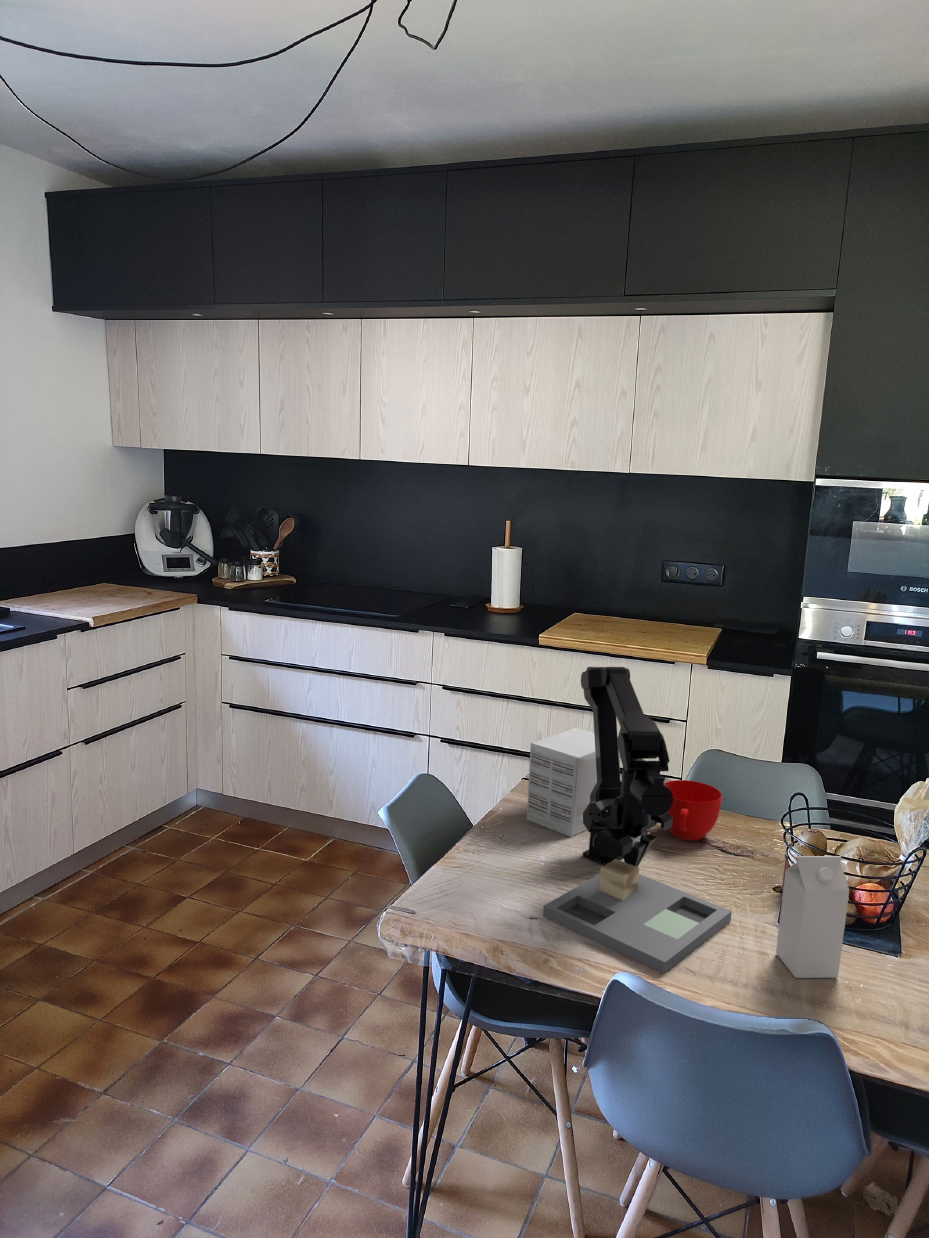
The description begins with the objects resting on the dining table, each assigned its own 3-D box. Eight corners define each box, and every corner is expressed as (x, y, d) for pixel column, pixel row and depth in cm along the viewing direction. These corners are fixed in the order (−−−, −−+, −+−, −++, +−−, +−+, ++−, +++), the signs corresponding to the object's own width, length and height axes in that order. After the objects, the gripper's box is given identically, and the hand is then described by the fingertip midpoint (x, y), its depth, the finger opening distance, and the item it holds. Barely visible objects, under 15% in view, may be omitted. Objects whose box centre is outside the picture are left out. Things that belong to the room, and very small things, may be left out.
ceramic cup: (648, 846, 183) (651, 801, 181) (662, 817, 198) (666, 776, 196) (711, 859, 178) (716, 813, 176) (721, 829, 193) (725, 786, 192)
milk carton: (775, 953, 144) (787, 846, 141) (816, 953, 145) (830, 846, 141) (795, 979, 137) (808, 866, 134) (838, 978, 138) (852, 866, 135)
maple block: (614, 881, 163) (615, 858, 162) (637, 890, 159) (639, 867, 159) (599, 890, 159) (601, 867, 158) (623, 900, 156) (625, 876, 155)
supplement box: (570, 799, 207) (575, 726, 203) (617, 817, 198) (623, 740, 194) (524, 819, 194) (528, 741, 191) (572, 838, 185) (577, 757, 182)
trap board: (615, 874, 170) (616, 864, 169) (730, 921, 154) (731, 911, 154) (543, 916, 153) (543, 905, 153) (664, 973, 137) (665, 962, 137)
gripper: (625, 769, 171) (620, 843, 174) (570, 794, 157) (565, 874, 160) (676, 784, 164) (670, 862, 167) (623, 812, 150) (617, 896, 153)
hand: (630, 872), depth 162 cm, fingers closed
